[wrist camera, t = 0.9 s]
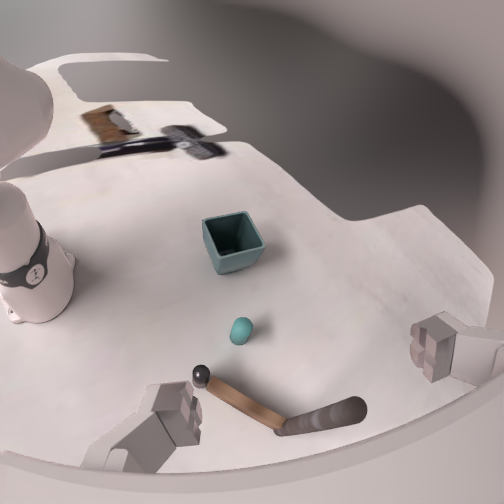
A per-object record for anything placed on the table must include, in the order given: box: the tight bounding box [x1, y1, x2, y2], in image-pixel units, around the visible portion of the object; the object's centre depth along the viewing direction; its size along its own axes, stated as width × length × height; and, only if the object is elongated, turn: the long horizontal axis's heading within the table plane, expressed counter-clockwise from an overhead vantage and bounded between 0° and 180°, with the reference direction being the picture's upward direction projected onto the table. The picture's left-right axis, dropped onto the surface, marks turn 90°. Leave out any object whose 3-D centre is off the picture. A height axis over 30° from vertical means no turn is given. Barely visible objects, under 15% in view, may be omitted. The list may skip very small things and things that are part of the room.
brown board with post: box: [206, 376, 367, 436], centre depth 33 cm, size 15×3×24 cm, turn 60°
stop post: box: [230, 317, 253, 345], centre depth 48 cm, size 3×3×5 cm
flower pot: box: [202, 211, 266, 275], centre depth 55 cm, size 9×9×9 cm
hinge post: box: [193, 365, 210, 388], centre depth 41 cm, size 2×2×6 cm
